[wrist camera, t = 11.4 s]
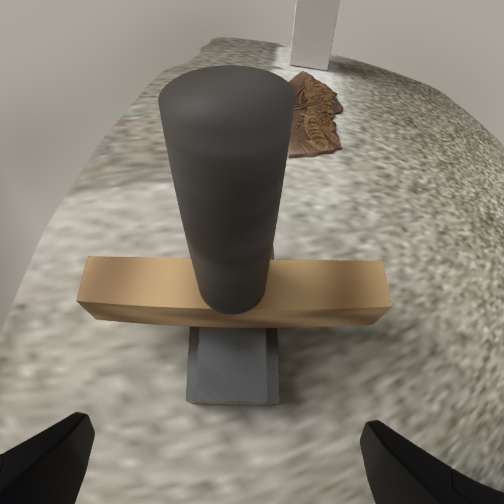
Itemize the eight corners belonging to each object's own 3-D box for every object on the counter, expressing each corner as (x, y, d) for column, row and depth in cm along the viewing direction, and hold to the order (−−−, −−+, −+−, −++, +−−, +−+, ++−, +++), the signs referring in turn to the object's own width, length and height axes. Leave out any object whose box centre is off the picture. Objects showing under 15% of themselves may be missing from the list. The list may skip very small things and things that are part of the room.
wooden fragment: (340, 171, 33) (342, 164, 32) (245, 152, 34) (245, 145, 33) (340, 81, 47) (341, 76, 46) (280, 70, 48) (280, 64, 47)
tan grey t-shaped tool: (365, 279, 20) (469, 106, 9) (373, 328, 18) (517, 170, 7) (105, 275, 20) (6, 102, 8) (95, 323, 18) (-44, 165, 6)
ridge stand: (276, 404, 20) (284, 399, 16) (190, 403, 20) (178, 397, 16) (271, 259, 26) (276, 226, 22) (200, 258, 26) (193, 225, 22)
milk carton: (325, 59, 52) (338, -23, 36) (327, 71, 48) (343, -20, 32) (290, 53, 52) (299, -30, 36) (288, 65, 48) (299, -28, 32)
